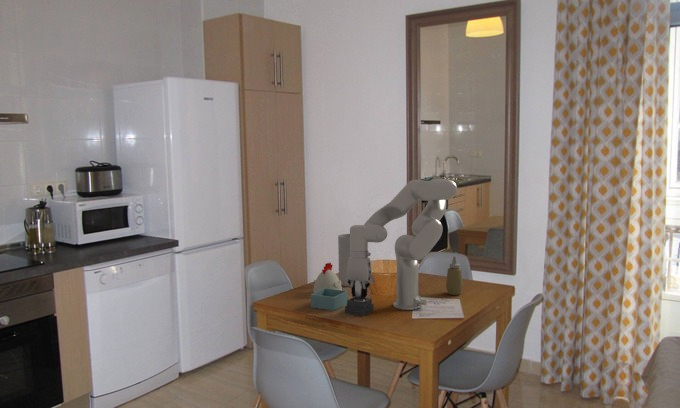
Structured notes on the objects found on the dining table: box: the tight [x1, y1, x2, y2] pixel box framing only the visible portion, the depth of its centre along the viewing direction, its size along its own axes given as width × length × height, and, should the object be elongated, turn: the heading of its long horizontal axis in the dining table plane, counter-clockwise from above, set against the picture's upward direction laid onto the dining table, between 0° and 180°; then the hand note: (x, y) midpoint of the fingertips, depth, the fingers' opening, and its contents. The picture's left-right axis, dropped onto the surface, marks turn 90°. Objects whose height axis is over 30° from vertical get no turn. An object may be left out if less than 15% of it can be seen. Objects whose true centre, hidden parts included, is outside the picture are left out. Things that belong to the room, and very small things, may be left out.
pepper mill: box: [354, 278, 365, 302], centre depth 238 cm, size 5×5×13 cm
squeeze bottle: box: [445, 255, 464, 296], centre depth 265 cm, size 8×8×18 cm
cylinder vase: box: [337, 233, 351, 288], centre depth 286 cm, size 12×12×25 cm
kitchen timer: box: [312, 262, 343, 294], centre depth 268 cm, size 14×14×15 cm
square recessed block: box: [344, 296, 375, 317], centre depth 239 cm, size 9×9×6 cm
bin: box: [310, 288, 349, 312], centre depth 249 cm, size 12×12×6 cm
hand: (359, 296), depth 239 cm, fingers closed on pepper mill, 4 cm apart
